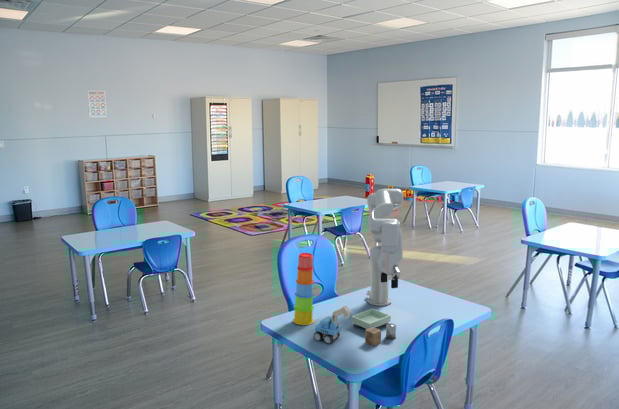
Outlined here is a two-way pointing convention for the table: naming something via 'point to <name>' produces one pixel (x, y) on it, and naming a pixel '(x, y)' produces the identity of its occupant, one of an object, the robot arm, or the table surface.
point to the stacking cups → (304, 290)
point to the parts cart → (370, 319)
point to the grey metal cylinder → (391, 331)
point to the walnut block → (373, 336)
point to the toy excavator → (330, 326)
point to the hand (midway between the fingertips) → (389, 284)
